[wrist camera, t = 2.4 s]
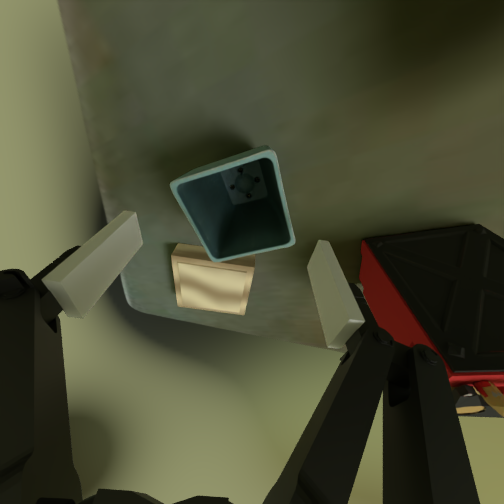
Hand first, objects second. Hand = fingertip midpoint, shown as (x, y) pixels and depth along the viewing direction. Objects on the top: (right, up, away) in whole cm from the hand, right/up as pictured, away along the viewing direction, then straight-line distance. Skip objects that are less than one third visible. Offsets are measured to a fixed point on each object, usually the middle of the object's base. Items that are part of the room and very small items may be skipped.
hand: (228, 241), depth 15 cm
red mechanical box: (+26, -1, +15) cm, 30 cm away
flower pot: (+1, +8, +10) cm, 13 cm away
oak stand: (-5, -5, +20) cm, 21 cm away
